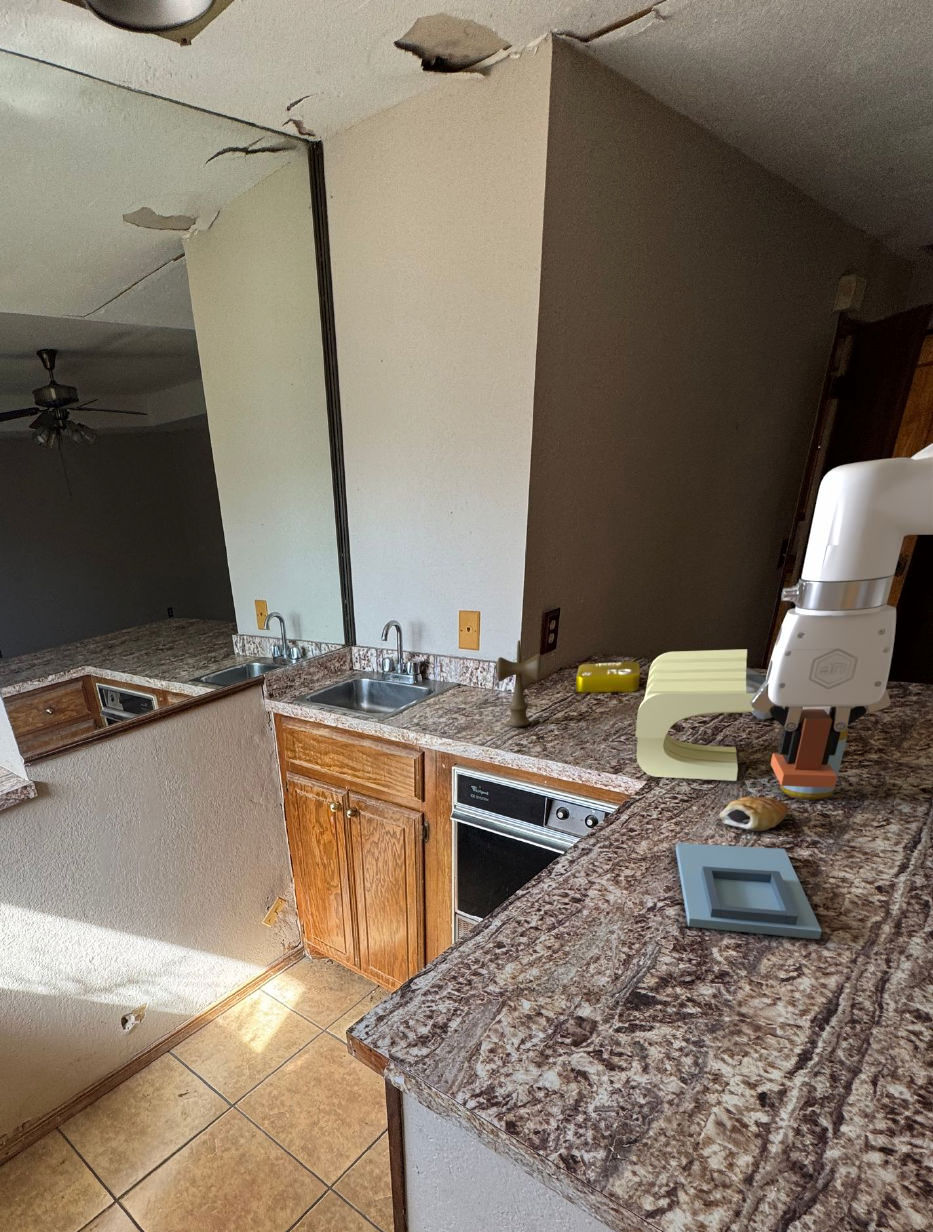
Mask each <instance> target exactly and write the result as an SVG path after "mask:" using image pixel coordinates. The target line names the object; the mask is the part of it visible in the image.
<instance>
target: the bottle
mask: <svg viewBox="0 0 933 1232" xmlns="http://www.w3.org/2000/svg"><path fill="white" fill-rule="evenodd" d="M803 709H824V710H825V712H826V713H827V714H828V715H829V710H830V707H803ZM848 734H849V732H848V727H847V728H846V729H845V730H844V731H841V733H840V737H839V741H838V745H837V750H836V753H835V755H834V756H829V760H828V763H829V764H830V766H831V767H832V769H833V770H834V772H835V773H836V775H837V779H836V783H835V787H834V788H827V787H799V786H781V785H780V784H779V785H780V786H779V788H780V790H782V792H783V793H784V794H785V795H787V796H788V797H792V798H794V799H800V800H807V801H808V800H809V801H810V800H811V801H812V800H813V801H816V800H823V799H825V798H828V797H830V796H831V795H832V794H834V793H835V789H836V785H837V782H838V777H839V772H840V768H841V765H842V764H841V763H842V760H843V756H844V751H845V748H846V743H847V739H848Z"/></svg>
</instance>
